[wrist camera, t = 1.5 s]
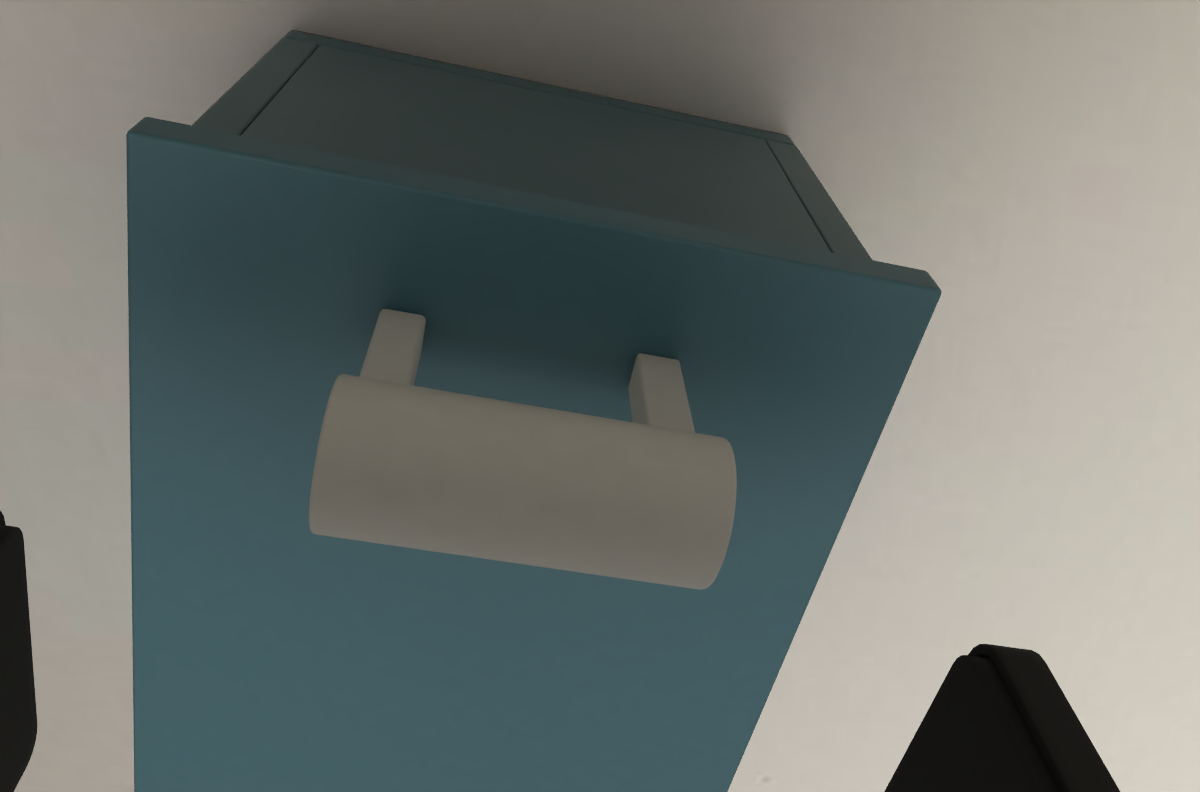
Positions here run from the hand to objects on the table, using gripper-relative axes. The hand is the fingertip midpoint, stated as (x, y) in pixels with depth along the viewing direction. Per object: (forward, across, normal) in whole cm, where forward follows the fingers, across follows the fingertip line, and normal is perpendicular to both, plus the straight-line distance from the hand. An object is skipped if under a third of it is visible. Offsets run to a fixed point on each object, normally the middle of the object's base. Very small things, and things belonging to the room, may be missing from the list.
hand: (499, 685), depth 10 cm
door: (+8, 0, +5) cm, 9 cm away
